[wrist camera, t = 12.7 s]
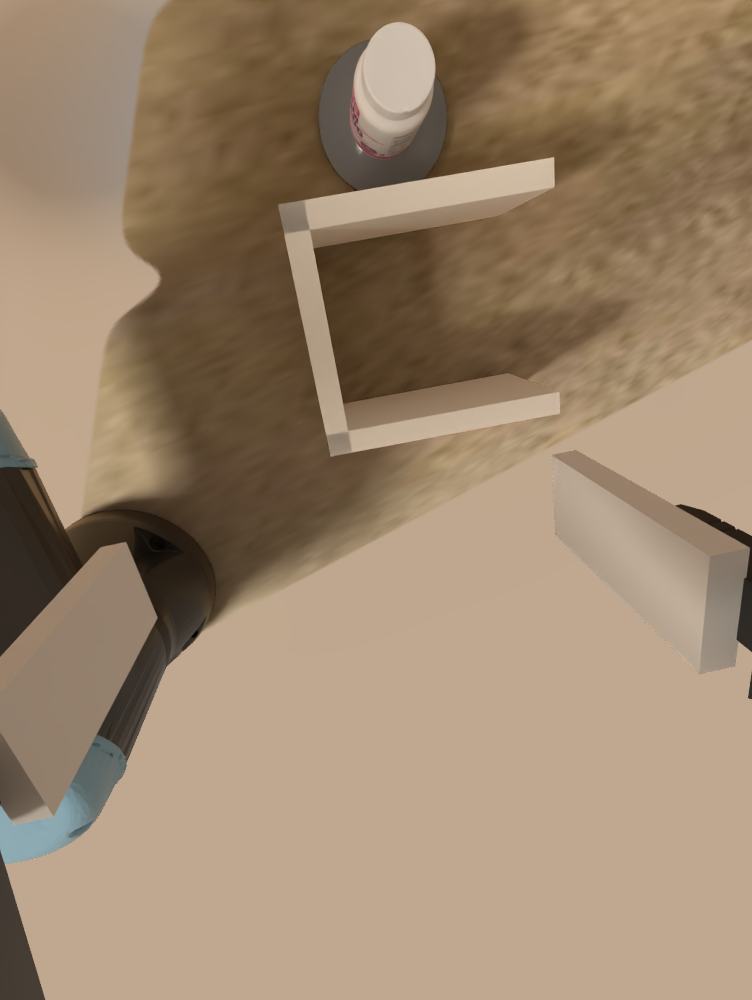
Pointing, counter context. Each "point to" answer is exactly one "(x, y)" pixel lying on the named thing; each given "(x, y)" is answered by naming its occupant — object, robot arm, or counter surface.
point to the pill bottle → (391, 90)
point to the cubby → (388, 216)
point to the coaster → (345, 150)
